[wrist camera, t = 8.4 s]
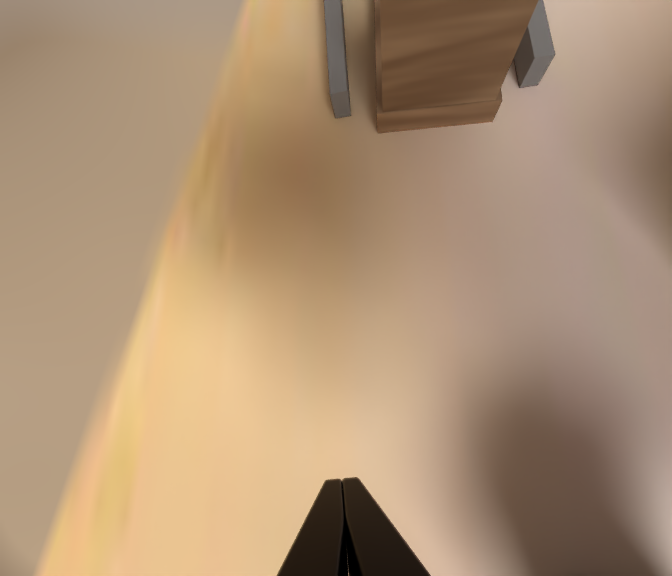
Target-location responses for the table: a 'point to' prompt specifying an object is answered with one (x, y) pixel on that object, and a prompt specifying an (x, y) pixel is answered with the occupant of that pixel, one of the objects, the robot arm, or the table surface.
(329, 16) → the bay
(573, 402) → the table surface
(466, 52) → the wooden drawer
